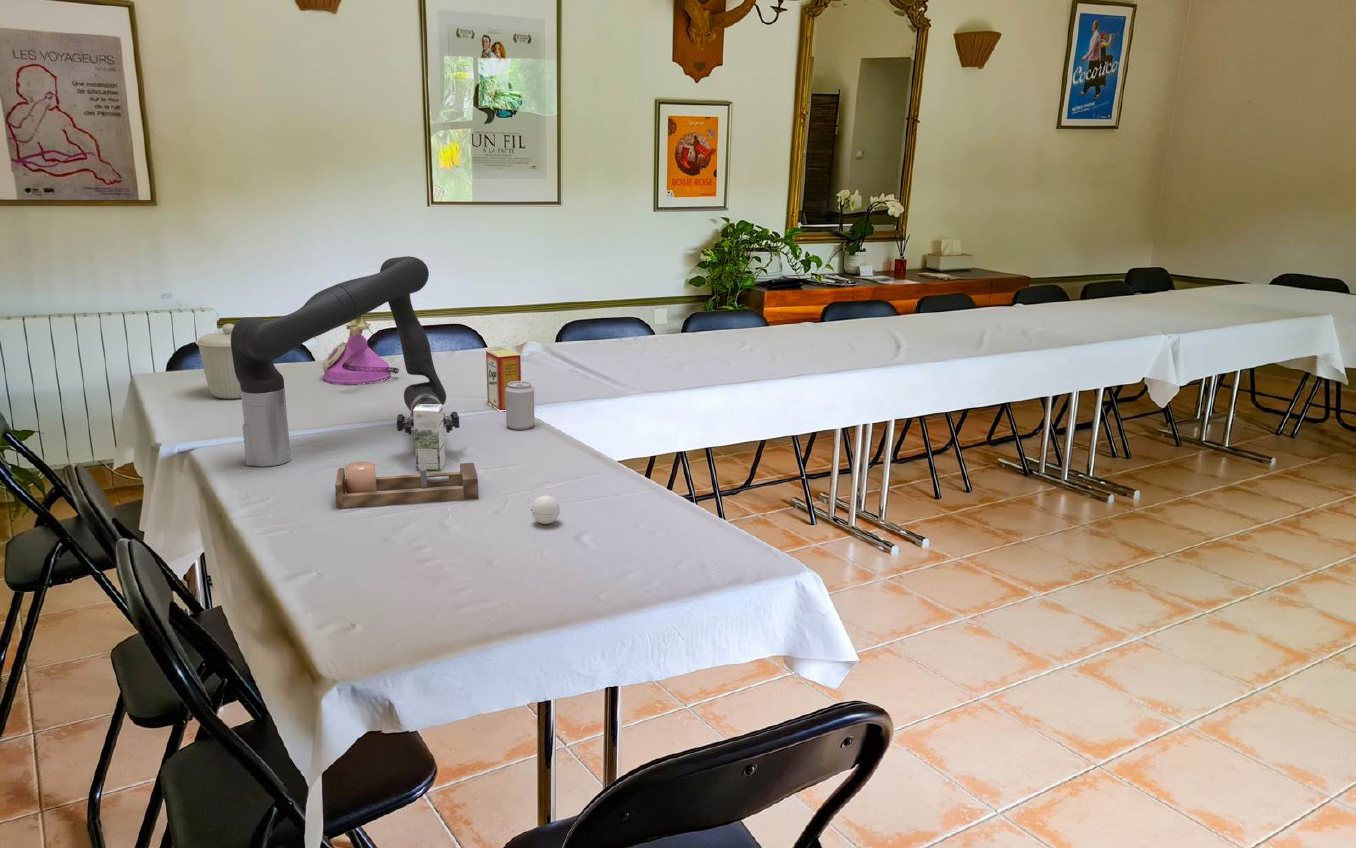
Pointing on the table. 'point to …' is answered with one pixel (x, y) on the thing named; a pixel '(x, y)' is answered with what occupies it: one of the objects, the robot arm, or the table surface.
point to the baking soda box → (501, 375)
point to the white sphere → (545, 509)
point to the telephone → (356, 359)
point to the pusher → (428, 479)
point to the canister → (219, 363)
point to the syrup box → (429, 435)
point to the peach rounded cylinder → (360, 477)
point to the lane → (463, 478)
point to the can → (519, 405)
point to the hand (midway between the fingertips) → (429, 429)
